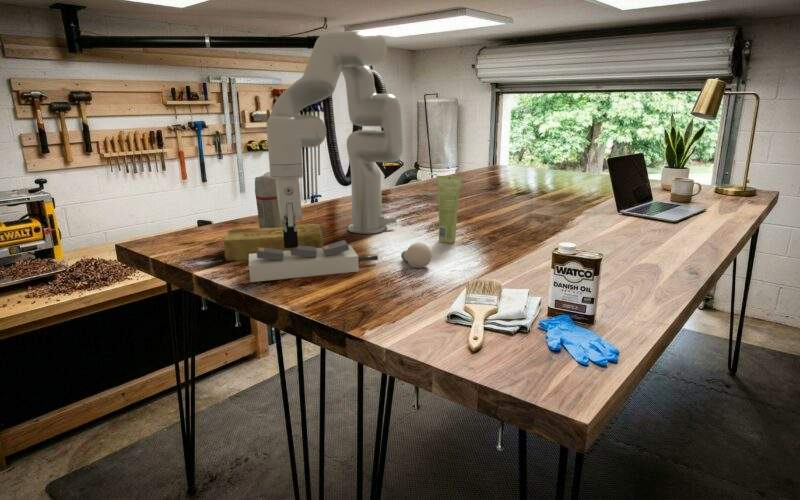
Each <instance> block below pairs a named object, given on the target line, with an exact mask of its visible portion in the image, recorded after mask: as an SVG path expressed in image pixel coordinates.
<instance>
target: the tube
mask: <svg viewBox="0 0 800 500" xmlns="http://www.w3.org/2000/svg"><path fill="white" fill-rule="evenodd" d="M462 183H463V176H446V175H436V185H437V186H436V187H437V198H438V200H437V202H438V203H437V204H438V241H439V242H440V243H443V244H444V243H446V244H450V243H455V242H456V236H457V235H456V234H457V222H458V210H459V203H460V201H459V200H460V193H461V188H462V187H461V186H462Z"/></svg>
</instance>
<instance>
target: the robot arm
mask: <svg viewBox="0 0 800 500" xmlns="http://www.w3.org/2000/svg"><path fill="white" fill-rule="evenodd" d="M387 52H388V44H387V41H386V38H385V37H384V35H383V34H382V33H381V32H379V31H359V30H357V31H356V30H353V31H352V30H351V31H349V30H348V31H334V32H333V31H332V32H326V33H323V34H321V35H320V36H318V37H317V39H316V41H315V43H314V46H313V49H312V51H311V54H310V56H309V59H308V62H307V65H306V67H305V68H304V69H305V70H304V71H303V75H302V76H301V77H300V78H299V79H297V80H296V81H294V82H293V83H292V84H291V85H290V86H288V88H286V89H285V90H284V91H283V92H281V94H280V95H279V96H278V97H277V99H276V100H275V102H274V104H273V107H272V110H271V112H270V115H269V117H268V119H267V120H266V136H267V137H266V138H267V149H268V150H267V152H268V164H269V165H268V166H269V172H270V178H272V179H276V189H277V200H278V208H279V213H280V217H281V220H282V221H283V222H284V231H283V235H284V247H285V248H296V247H298V237H297V230H296V225H297V220H299V221H302V220H303V214H302V213H303V209H302V199H301V198H302V196H301V195H302V194H301V187H300V179H301V178H304V170H303V153H302V152H303V151H302V149H303V148H314V147H318V146H319V145H321V144H322V143H323V142H324V141H325V139H326V136H327V126H326V124H325V122H324V121H323V120H322V119H321V118H320V117H318V116H316V115H312V114H298V113H299V112H300V111H302V110H304V109H305V108H307V107H308V106H311V105H314V104H316V103H319V102H321V101H323V100H325V99H327V98H329V97H331V96H332V95H333V93H334V92H335V89H336V87H337V83H338V81H339V79H340V75H341V73H342V75H343V77H344V80H345V81H344V82H345V88H346V90H345V91H346V100H347V101H346V102H347V111H348V117H349V120H350V122H351V124H353V125H355V126H357V127H374V128H375V127H377V128H378V127H380V128H382V130H369V129H368V130H367V129H362V130H360V129H359V130H355V131H352V132H351V133H350V134H349V135H348V137H347V140H346V150H347V155H348V160H349V167H350V179H351V180H350V181H351V182H350V185H351V186H350V187H351V189H350V190H351V211H352V212H351V213H352V223H350V224H349V225H348V226H347V229H348V232H351V233H353V234H360V235H361V234H363V235H364V234H365V235H367V234H368V235H369V234H370V235H372V234H378V233H383V232H384V231H386V230H387V227H388V226H387V225H388V223H389V224H393V223H397V217H396V216H390V215H389V216H388V215H387V216H384V215H383V214H382V213H383V212H382V211H383V210H382V204H383V203H382V175H381V171H380V170H379V168H378V166H377V164H376V163H396V162H399V160H400V159H401V157H402V156H403V149H404V147H403V146H404V145H403V141H404V140H403V127H402V126H403V124H402V123H403V122H402V109H401V104H400V101H399V100H398V97H397V96H395V95H393V94H392V93H377V92H376V87H375V86H376V85H375V77H374V73H373V72H372V70H371V68H370V66H376V65H380V64H381V63H383V62H384V60H385V59H386V56H387Z"/></svg>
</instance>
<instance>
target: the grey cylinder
mask: <svg viewBox="0 0 800 500" xmlns="http://www.w3.org/2000/svg"><path fill="white" fill-rule="evenodd" d="M254 195H255V200H256V201H255V202H256V209H257V218H258V224H259V225H258V226H259V229H261V228H279V227H284V222H283V221H282V220H281V217H280V213H279V208H278V200H277V189H276V179H272V178H270V171H268V172H266V173H264V174H262V175H260V176H256V177H255V178H254Z"/></svg>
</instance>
